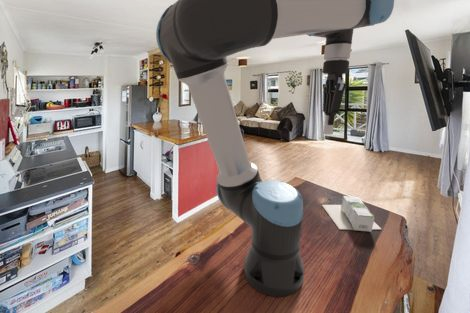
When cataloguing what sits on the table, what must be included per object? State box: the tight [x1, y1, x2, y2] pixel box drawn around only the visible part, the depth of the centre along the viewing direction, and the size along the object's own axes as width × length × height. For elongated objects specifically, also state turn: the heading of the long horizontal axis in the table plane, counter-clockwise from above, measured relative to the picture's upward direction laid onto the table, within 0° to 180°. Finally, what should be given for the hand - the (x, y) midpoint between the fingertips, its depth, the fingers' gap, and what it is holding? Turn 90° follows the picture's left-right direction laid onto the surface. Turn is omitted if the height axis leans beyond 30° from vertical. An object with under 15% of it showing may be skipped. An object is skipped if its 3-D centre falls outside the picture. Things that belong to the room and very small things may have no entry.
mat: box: [321, 204, 382, 231], centre depth 86 cm, size 14×16×1 cm
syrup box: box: [340, 195, 375, 233], centre depth 83 cm, size 6×6×14 cm
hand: (327, 133), depth 80 cm, fingers closed
